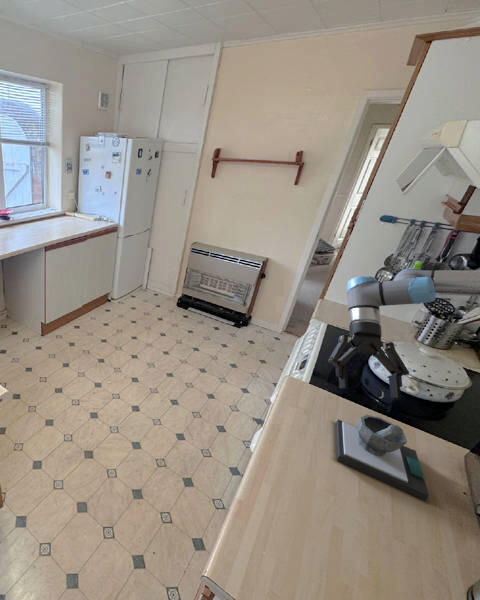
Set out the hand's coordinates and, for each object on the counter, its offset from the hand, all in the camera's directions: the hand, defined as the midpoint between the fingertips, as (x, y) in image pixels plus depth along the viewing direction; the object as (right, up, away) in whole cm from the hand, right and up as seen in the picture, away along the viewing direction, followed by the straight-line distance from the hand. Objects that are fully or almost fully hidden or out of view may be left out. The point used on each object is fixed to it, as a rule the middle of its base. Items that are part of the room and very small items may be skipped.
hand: (369, 393), depth 94 cm
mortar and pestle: (-4, -14, -5) cm, 15 cm away
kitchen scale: (-3, -16, -5) cm, 18 cm away
